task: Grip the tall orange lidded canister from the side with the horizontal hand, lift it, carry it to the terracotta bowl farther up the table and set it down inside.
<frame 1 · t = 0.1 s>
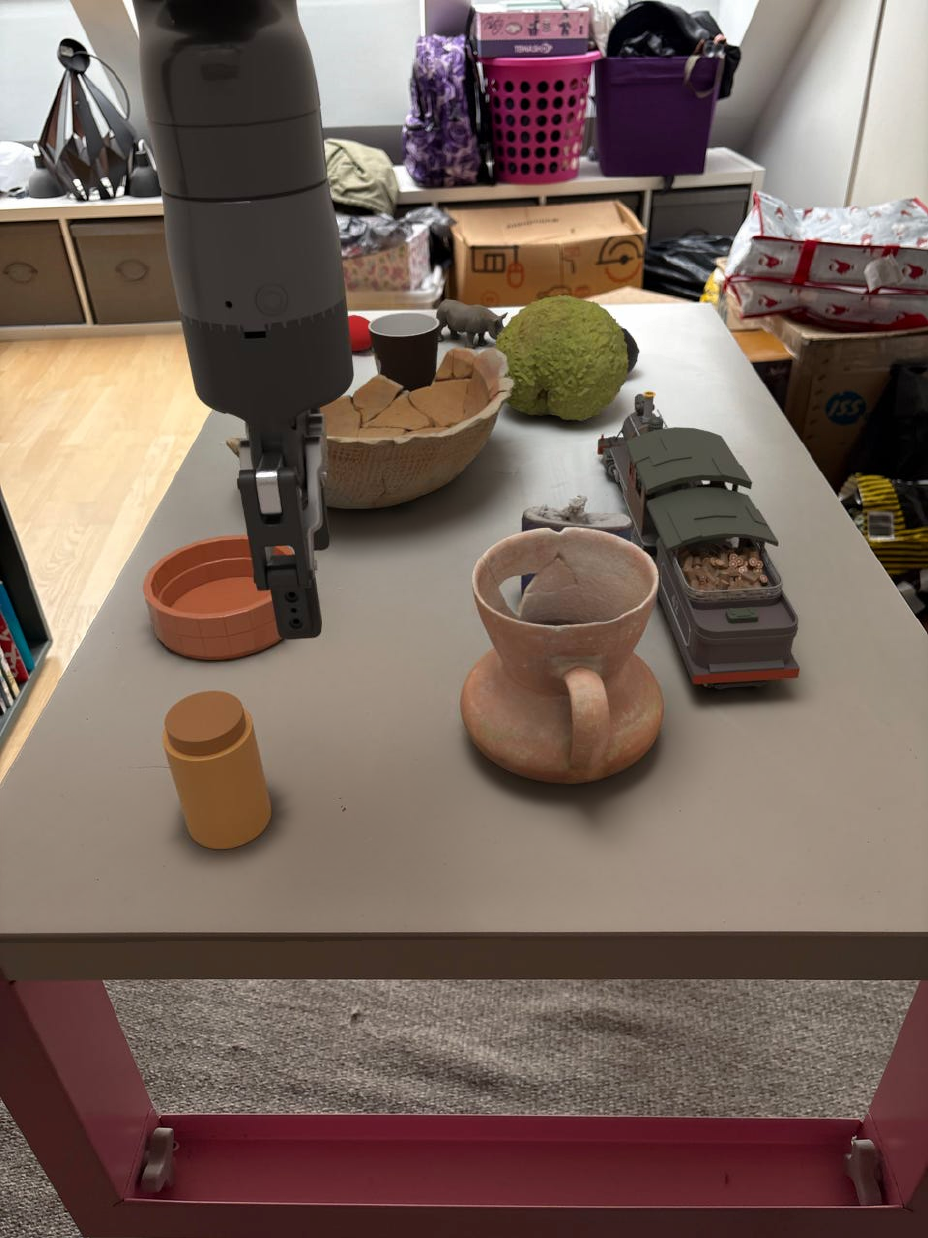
hand: (306, 588, 53), 19 cm above the table, tool pointing down, fingers open, 8 cm apart
rhino figurine: (475, 347, 138), on the table
coffee mug: (412, 398, 123), on the table
terracotta bowl: (230, 616, 85), on the table
flask: (572, 608, 84), on the table
ceramic bowl: (379, 487, 104), on the table
toy train: (672, 552, 91), on the table
figurine: (601, 361, 132), on the table
toy figure: (345, 345, 140), on the table
orange lidded canister: (229, 817, 65), on the table
fruit: (559, 413, 118), on the table
ceramic jug: (561, 740, 70), on the table
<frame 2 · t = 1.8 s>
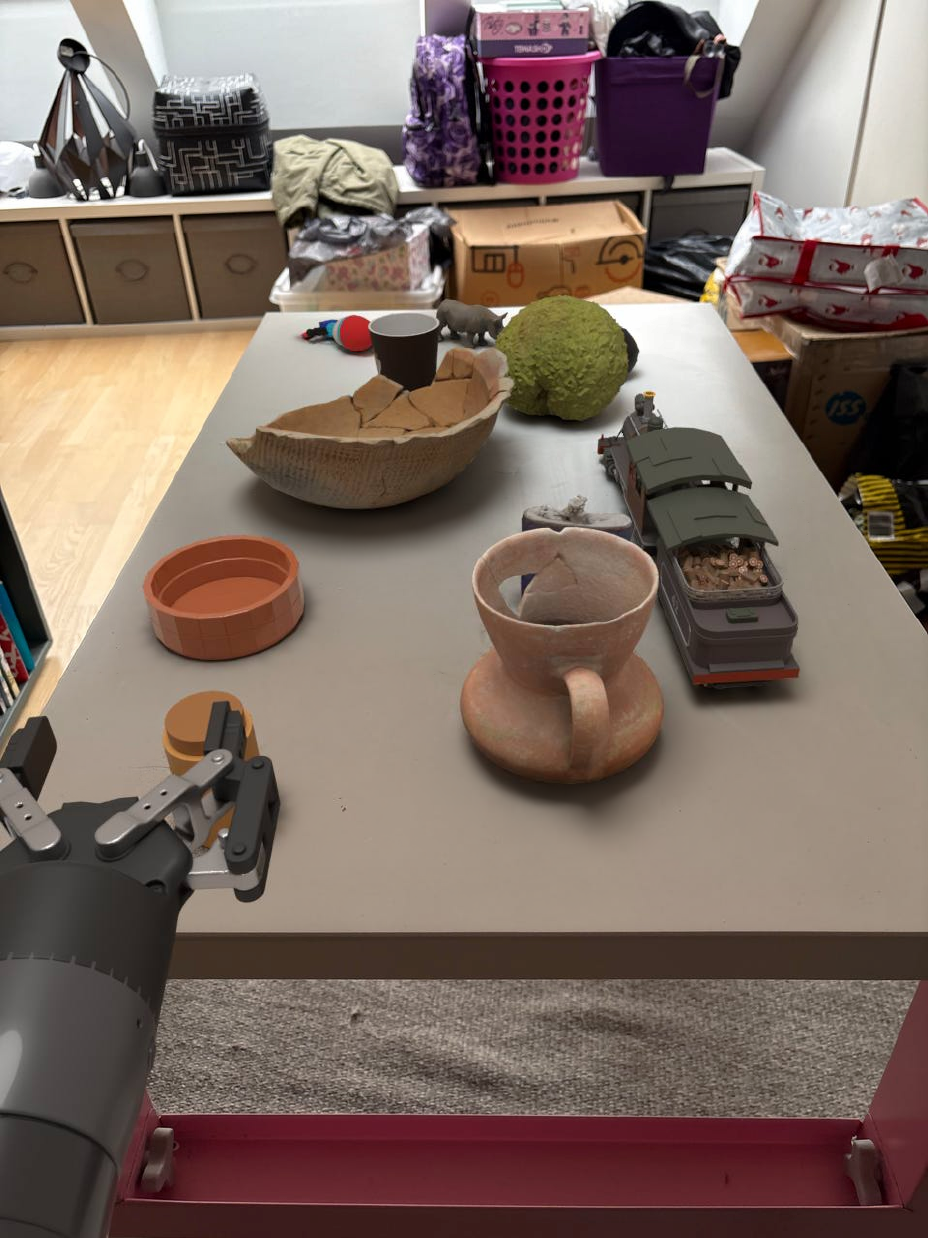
hand: (134, 722, 46), 18 cm above the table, tool horizontal, fingers open, 8 cm apart
nothing on the table moved.
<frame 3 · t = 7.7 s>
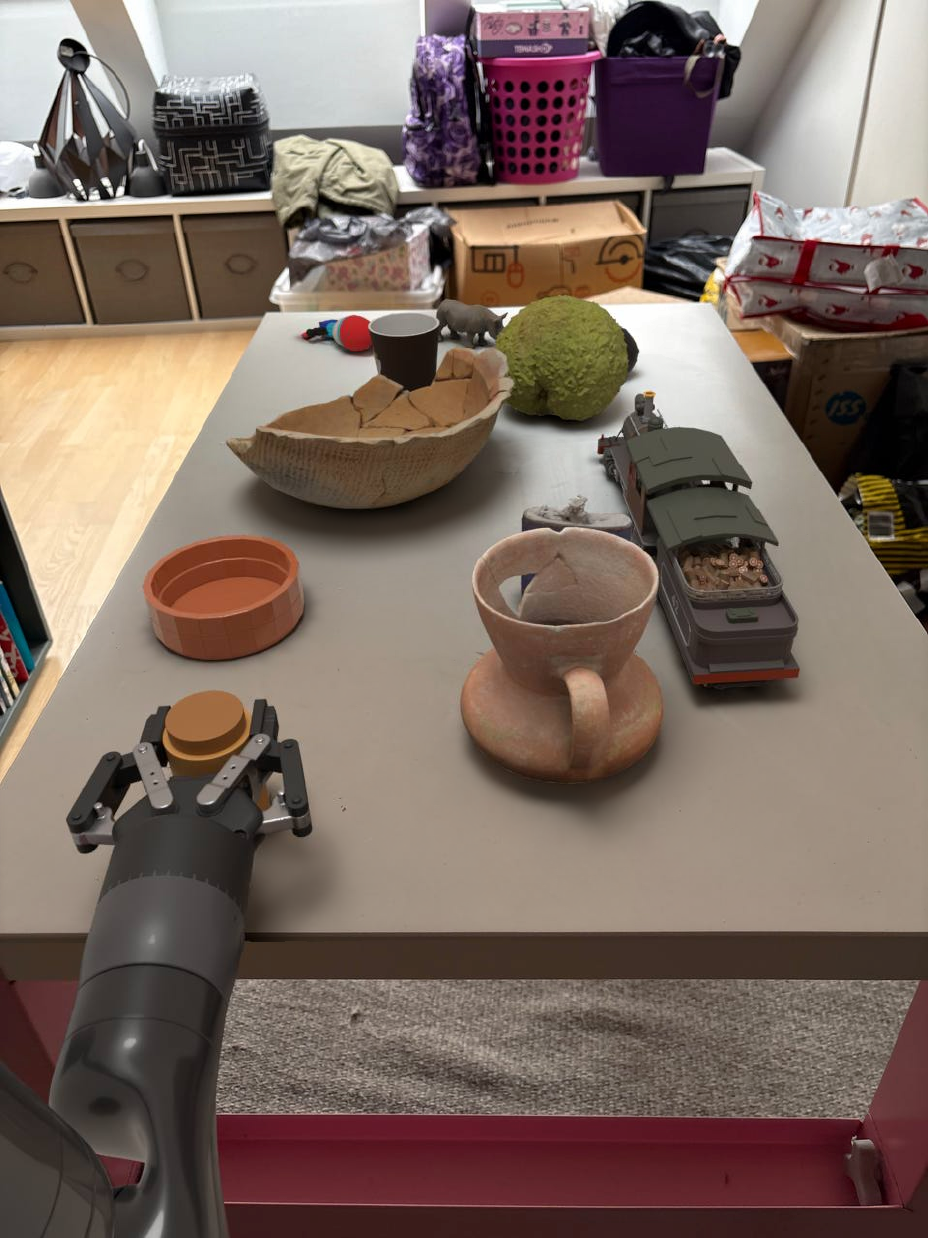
hand: (215, 712, 63), 7 cm above the table, tool horizontal, fingers closed on orange lidded canister, 5 cm apart
orange lidded canister: (229, 817, 65), on the table, touching gripper
everything else where it was.
when the fingers open (8 cm above the table, at t = 18.4 s): orange lidded canister stays where it is, resting on terracotta bowl.
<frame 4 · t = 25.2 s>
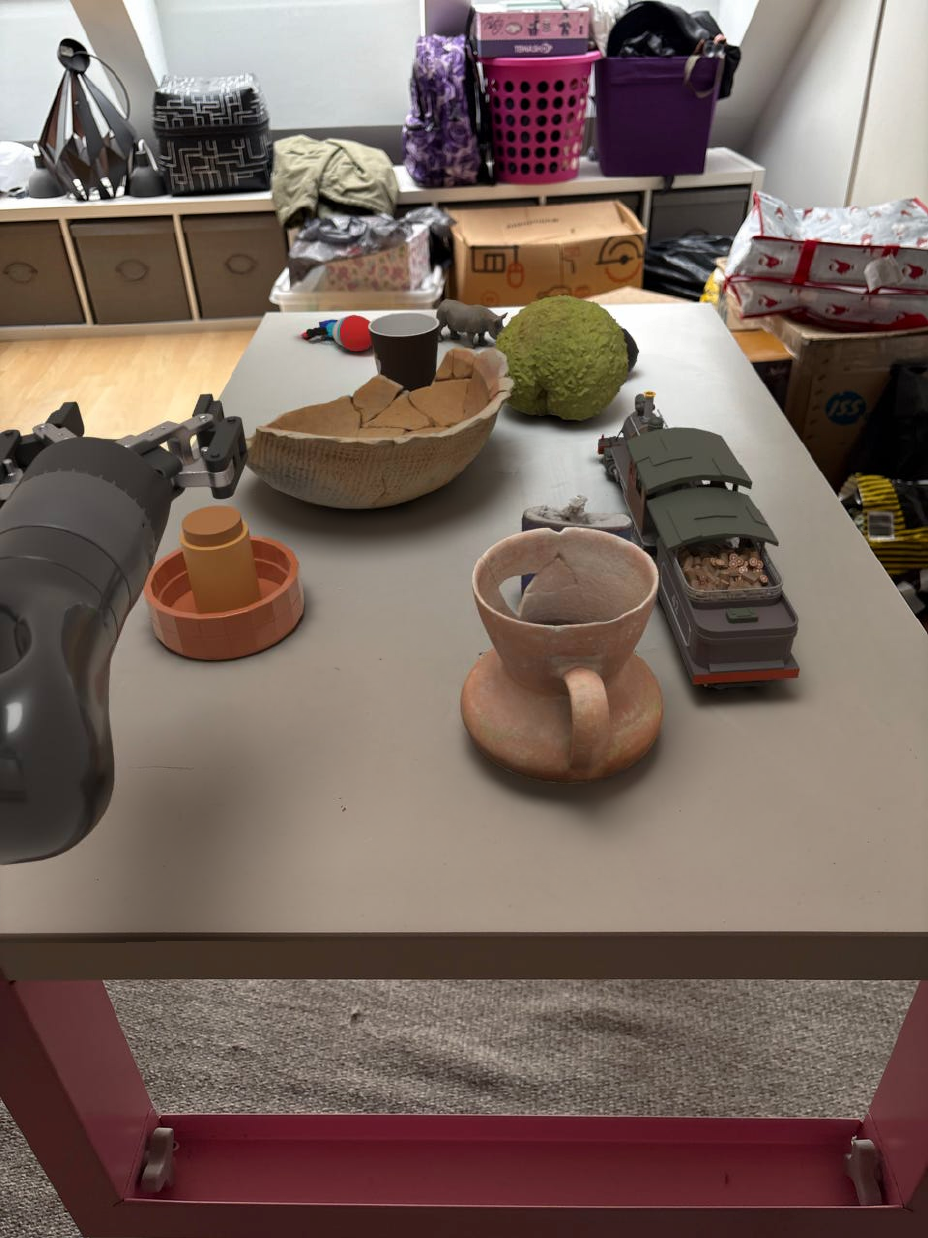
hand: (142, 411, 62), 24 cm above the table, tool horizontal, fingers open, 8 cm apart
orange lidded canister: (230, 611, 84), point 1 cm above the table, touching terracotta bowl
everything else where it was.
at the end: orange lidded canister inside the target area in the terracotta bowl (0.1 cm from its centre), point 0.6 cm above the terracotta bowl's base; the gripper is holding nothing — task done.
